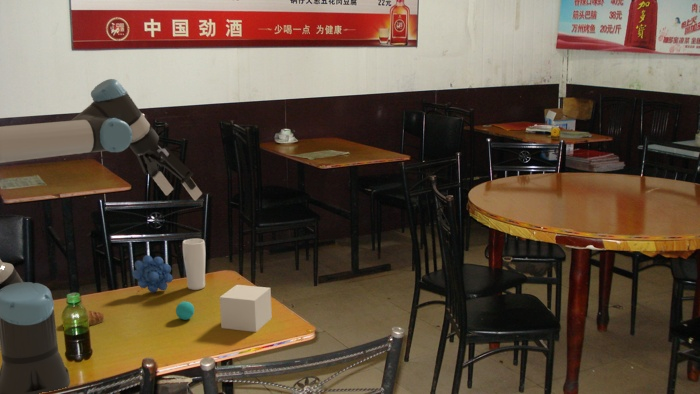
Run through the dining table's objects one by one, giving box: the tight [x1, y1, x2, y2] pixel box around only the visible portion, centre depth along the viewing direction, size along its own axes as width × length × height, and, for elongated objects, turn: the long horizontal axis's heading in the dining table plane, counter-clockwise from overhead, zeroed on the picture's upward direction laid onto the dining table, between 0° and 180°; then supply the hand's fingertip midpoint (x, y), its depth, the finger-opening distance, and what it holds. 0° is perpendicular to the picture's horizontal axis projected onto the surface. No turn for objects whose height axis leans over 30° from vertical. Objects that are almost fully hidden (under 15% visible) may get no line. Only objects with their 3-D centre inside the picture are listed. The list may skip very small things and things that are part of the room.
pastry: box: [86, 310, 105, 327], centre depth 207 cm, size 9×7×4 cm
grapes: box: [132, 254, 174, 293], centre depth 228 cm, size 12×7×12 cm, turn 110°
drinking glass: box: [182, 237, 206, 291], centre depth 232 cm, size 7×7×15 cm
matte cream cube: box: [219, 284, 273, 333], centre depth 204 cm, size 10×10×9 cm
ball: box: [175, 301, 195, 321], centre depth 208 cm, size 5×5×5 cm
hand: (183, 194), depth 203 cm, fingers open, 13 cm apart
